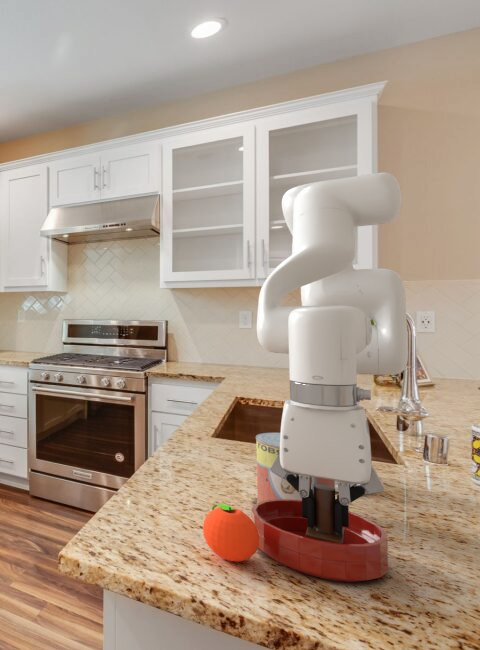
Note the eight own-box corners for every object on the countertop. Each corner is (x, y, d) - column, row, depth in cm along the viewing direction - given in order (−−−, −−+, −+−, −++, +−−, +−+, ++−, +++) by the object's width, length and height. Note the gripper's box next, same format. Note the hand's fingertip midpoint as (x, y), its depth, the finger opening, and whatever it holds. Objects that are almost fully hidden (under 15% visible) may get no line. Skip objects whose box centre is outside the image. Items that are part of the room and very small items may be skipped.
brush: (310, 539, 69) (308, 478, 70) (345, 548, 67) (343, 484, 67) (306, 556, 65) (304, 490, 65) (343, 565, 62) (341, 497, 62)
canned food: (253, 512, 81) (251, 442, 81) (260, 492, 90) (259, 429, 90) (336, 530, 74) (334, 453, 74) (335, 506, 83) (334, 438, 83)
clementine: (189, 544, 70) (188, 496, 71) (234, 541, 71) (233, 494, 71) (222, 573, 62) (221, 518, 63) (272, 570, 63) (271, 516, 63)
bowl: (261, 522, 77) (261, 491, 77) (385, 551, 68) (385, 516, 68) (243, 560, 66) (242, 523, 66) (390, 601, 56) (389, 558, 56)
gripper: (398, 397, 64) (402, 534, 64) (260, 386, 74) (262, 504, 74) (401, 405, 58) (405, 556, 58) (251, 393, 69) (253, 520, 68)
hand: (325, 526), depth 66 cm, fingers closed on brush, 2 cm apart
